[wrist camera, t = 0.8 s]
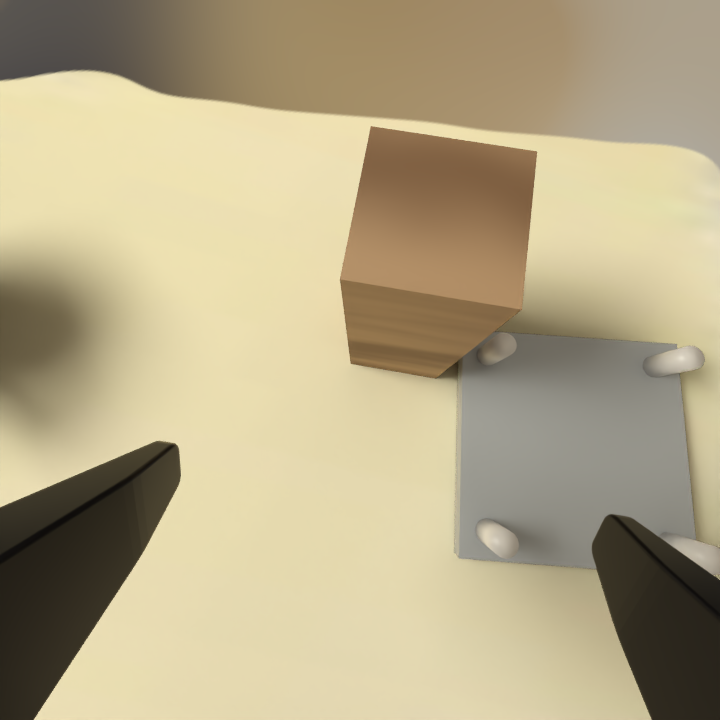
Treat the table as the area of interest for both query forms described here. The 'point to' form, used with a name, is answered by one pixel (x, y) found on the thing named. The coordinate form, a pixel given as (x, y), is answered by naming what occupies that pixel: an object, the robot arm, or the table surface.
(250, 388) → the table surface
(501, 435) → the peg stand
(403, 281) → the walnut block
